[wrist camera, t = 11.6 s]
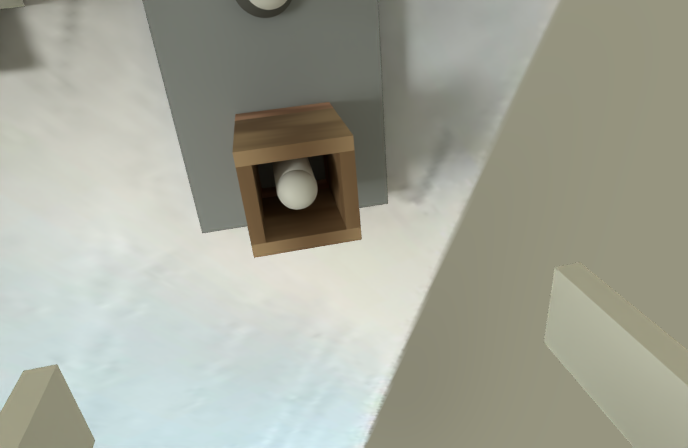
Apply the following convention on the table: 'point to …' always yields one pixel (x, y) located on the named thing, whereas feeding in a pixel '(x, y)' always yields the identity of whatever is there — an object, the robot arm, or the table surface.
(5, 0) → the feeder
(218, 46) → the pinboard
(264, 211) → the sleeve
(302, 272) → the table surface
